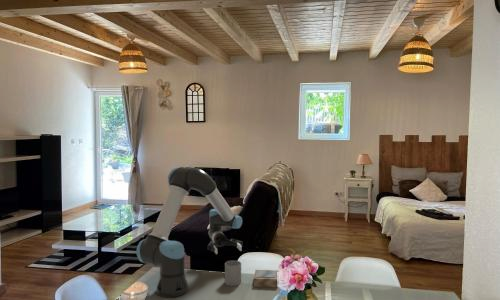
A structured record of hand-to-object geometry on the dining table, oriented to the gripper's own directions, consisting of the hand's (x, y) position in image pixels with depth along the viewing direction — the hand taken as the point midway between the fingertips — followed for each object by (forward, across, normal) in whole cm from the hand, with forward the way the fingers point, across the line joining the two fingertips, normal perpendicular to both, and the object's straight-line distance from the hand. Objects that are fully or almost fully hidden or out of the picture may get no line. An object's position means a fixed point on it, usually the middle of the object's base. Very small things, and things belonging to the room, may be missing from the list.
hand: (229, 250), depth 200 cm
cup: (+10, +1, -14) cm, 17 cm away
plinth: (+16, -15, -14) cm, 26 cm away
